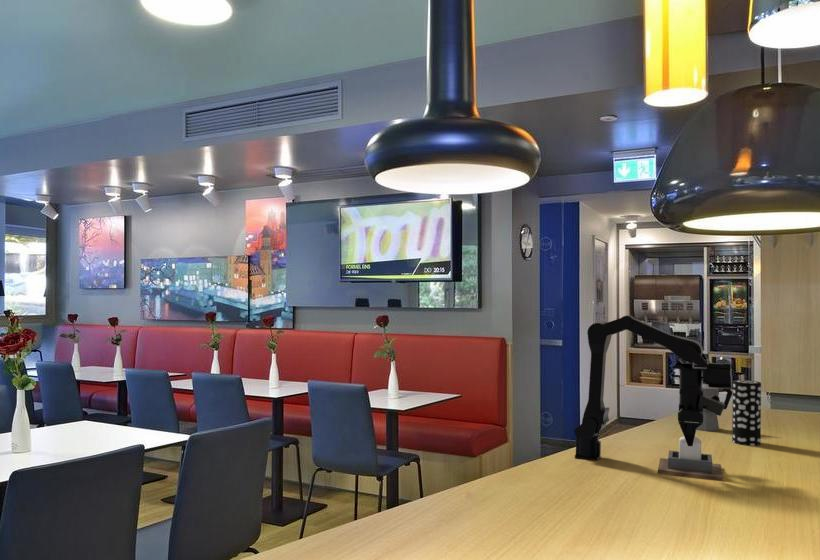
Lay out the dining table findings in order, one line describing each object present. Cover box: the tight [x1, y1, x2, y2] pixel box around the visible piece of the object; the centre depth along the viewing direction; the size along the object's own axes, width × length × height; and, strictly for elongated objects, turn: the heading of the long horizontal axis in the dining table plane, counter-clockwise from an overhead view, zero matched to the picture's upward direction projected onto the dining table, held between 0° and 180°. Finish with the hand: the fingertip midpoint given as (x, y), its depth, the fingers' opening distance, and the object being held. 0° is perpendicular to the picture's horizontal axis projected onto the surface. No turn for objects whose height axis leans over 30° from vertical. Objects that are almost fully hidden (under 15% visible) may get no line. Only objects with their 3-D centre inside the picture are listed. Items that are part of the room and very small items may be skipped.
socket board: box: [657, 457, 724, 482], centre depth 185 cm, size 16×14×1 cm
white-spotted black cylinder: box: [731, 379, 762, 447], centre depth 221 cm, size 8×8×20 cm
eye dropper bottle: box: [678, 435, 702, 460], centre depth 185 cm, size 4×6×12 cm
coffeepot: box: [696, 378, 733, 432], centre depth 243 cm, size 15×9×18 cm, turn 70°
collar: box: [667, 450, 713, 473], centre depth 185 cm, size 11×9×3 cm
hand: (690, 442), depth 185 cm, fingers open, 9 cm apart
